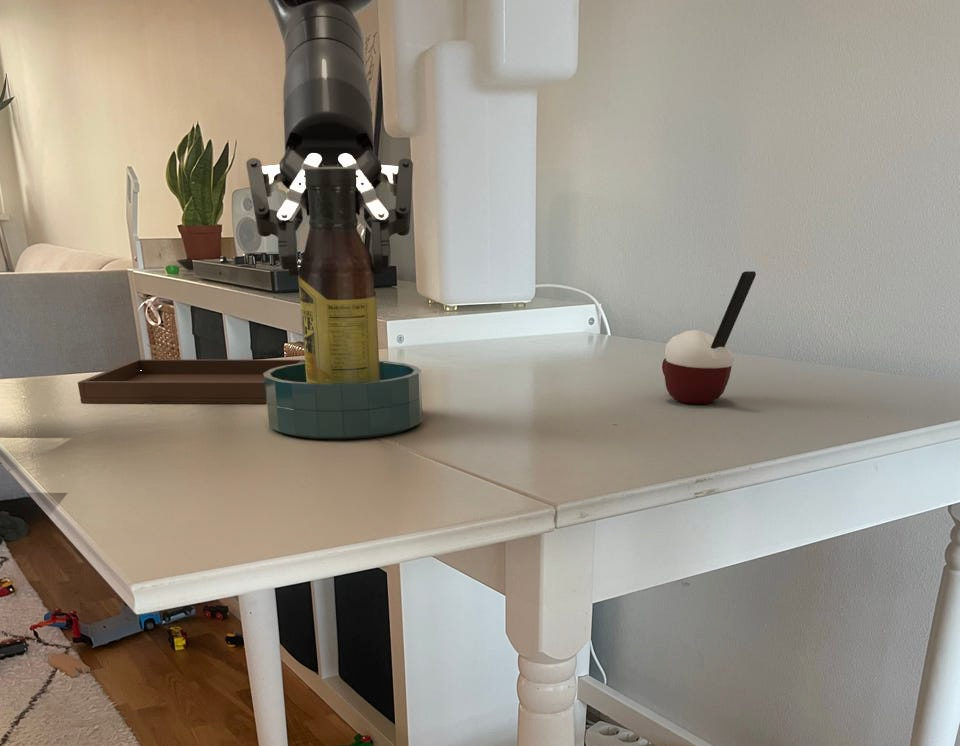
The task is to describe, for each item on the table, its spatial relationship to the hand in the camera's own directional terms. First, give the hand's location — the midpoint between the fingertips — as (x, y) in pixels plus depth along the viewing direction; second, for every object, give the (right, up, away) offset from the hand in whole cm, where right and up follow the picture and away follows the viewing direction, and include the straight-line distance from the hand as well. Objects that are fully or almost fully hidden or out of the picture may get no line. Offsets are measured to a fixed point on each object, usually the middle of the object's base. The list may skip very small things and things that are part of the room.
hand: (336, 267), depth 78 cm
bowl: (0, -11, +7) cm, 13 cm away
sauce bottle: (0, -11, +7) cm, 13 cm away
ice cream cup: (+32, -7, +15) cm, 37 cm away
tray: (-17, -4, +23) cm, 29 cm away
